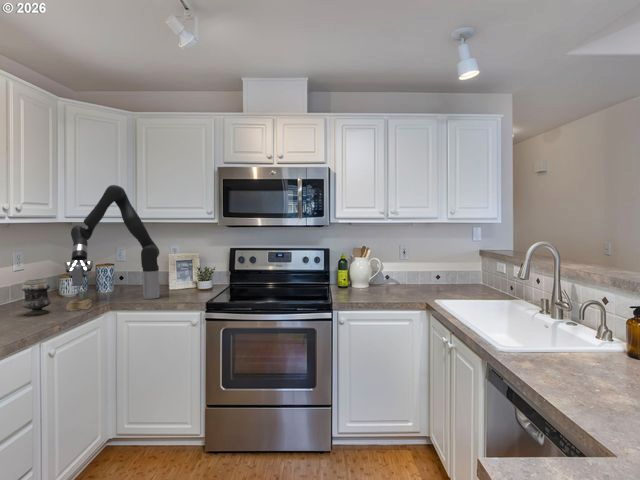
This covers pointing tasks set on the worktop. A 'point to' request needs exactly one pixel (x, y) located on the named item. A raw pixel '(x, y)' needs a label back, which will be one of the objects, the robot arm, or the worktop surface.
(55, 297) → the worktop surface
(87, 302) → the tan flat rounded piece
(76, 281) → the housing
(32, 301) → the apothecary jar
